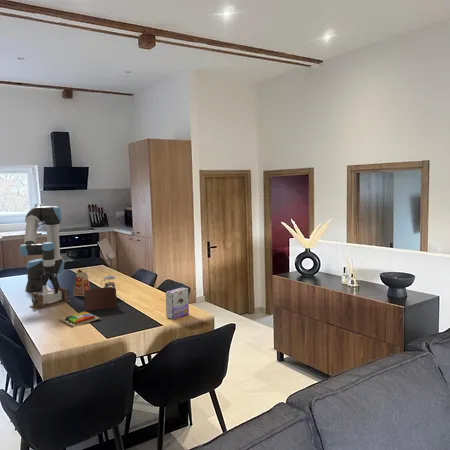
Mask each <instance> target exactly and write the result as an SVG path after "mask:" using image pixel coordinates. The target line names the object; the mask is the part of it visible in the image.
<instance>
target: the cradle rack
mask: <svg viewBox="0 0 450 450" xmlns="http://www.w3.org/2000/svg"><path fill="white" fill-rule="evenodd" d="M58 291H61V293H62V294H63V295H62V299H61V300H57V301H53V302H48V303H44V304H43V293H38V292H31V299H32V298H37V301H36V302H35V303H32V305H29V308H31V309H35V310H40V309H45V308H49V307H54V306H58V305H62V303H63V304H67V303H70V302H72V300H71V299H69V292H68V291H69V290H68V288H63V287H60V288H58ZM66 302H67V303H66Z"/></svg>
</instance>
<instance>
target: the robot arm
mask: <svg viewBox="0 0 450 450" xmlns="http://www.w3.org/2000/svg"><path fill="white" fill-rule="evenodd" d="M24 222H25V232H24V241H23V244H20V245H19V254H20V256H24V257H25V256H41V255H42V258H37V259H32V260H29V261H28V262H27V263H26V270H27V282H26V285H25V291H26V292H27V293H28V292H29V293H35V292H36V293H38V292H42V294H44V293H48V281H50V283H51V285H52V286H53V288H52V289H53V290H52V292H53V293H54V299H55V298H58V288H60V286H61V285H60V283H59V282H60V281H59V280H58V276H60V275H63V274H64V268H65V259H63V257H62V256H61V250H60V228H59V225H61V222H63V214H62V210H61V207H60V206H57V205H46V206H45V205H44V206H43V205H42V206H41V205H40V206H38V205H37V206H35V207H33V208H31V209H30V210H29V211H28V212H27V213H26V216H25V218H24ZM41 222H42V223H43V225H44V226H45V227H46V241H45V242H42V243H37V236H38V235H37V234H38V225H39V223H41Z"/></svg>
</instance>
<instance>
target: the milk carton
mask: <svg viewBox="0 0 450 450" xmlns="http://www.w3.org/2000/svg"><path fill="white" fill-rule="evenodd" d="M88 276H89V275H88V272H87V271H86V270H85V268H78V271H76V276H75V281H74V282H75V283H74V289H73V297H77V296H78V297H84V292H85V291H86V290H89V289H91V288H90V287H91V286H90V281H89V277H88Z"/></svg>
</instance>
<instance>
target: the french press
mask: <svg viewBox="0 0 450 450" xmlns="http://www.w3.org/2000/svg"><path fill="white" fill-rule="evenodd" d="M110 264H111V262H110V261H109V262H107V265H110ZM114 279H116V276H114V275H110V274H109V275H106V276H104V277H103V279H102V280H101V281H100V283H99V284H100V288H116V284H115V283H116V282H113V281H110V280H114ZM106 280H109V282H106ZM103 282H104V285H103V286H102V283H103ZM116 298H117V294H116Z"/></svg>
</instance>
